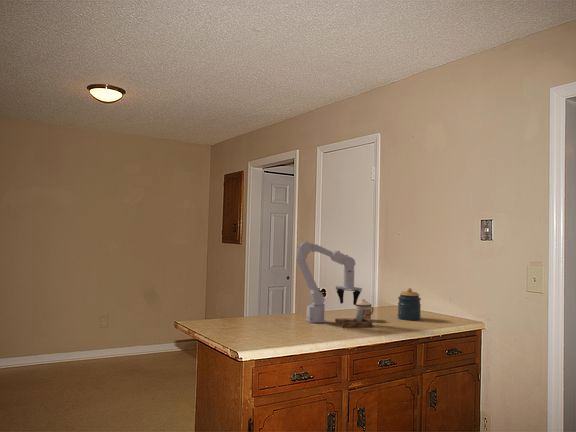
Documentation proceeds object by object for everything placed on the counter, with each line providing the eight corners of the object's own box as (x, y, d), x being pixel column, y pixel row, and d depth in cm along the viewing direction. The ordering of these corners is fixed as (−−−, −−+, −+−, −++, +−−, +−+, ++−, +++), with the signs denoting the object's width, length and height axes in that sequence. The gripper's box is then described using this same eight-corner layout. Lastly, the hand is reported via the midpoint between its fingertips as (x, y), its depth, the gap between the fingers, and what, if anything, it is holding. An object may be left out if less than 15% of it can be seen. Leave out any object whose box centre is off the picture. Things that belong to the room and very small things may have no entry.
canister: (423, 321, 275) (423, 289, 276) (400, 320, 276) (400, 289, 276) (417, 317, 288) (418, 287, 289) (395, 316, 289) (396, 286, 289)
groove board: (343, 327, 249) (343, 322, 249) (335, 323, 260) (335, 318, 260) (372, 327, 253) (372, 322, 253) (362, 322, 264) (363, 318, 264)
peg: (359, 324, 257) (360, 310, 257) (354, 323, 259) (354, 309, 259) (363, 323, 259) (363, 310, 260) (358, 322, 262) (358, 309, 262)
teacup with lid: (362, 321, 267) (362, 300, 267) (351, 319, 275) (351, 298, 275) (378, 320, 273) (378, 299, 274) (367, 317, 281) (368, 297, 282)
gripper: (333, 278, 265) (333, 303, 265) (358, 280, 258) (358, 306, 257) (338, 277, 271) (338, 302, 271) (363, 279, 264) (362, 304, 264)
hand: (348, 304), depth 264 cm, fingers open, 7 cm apart
